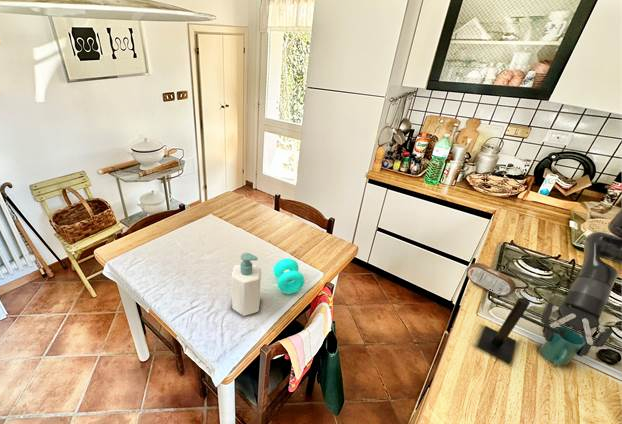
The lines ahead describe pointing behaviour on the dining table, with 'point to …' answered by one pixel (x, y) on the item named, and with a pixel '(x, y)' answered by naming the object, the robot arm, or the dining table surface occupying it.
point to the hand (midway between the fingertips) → (563, 347)
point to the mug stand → (500, 341)
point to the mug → (562, 347)
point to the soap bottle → (246, 286)
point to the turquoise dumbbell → (288, 276)
